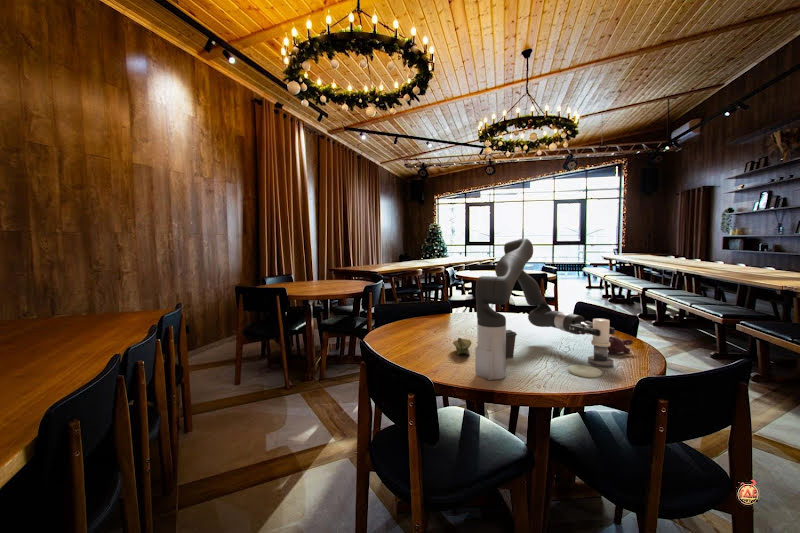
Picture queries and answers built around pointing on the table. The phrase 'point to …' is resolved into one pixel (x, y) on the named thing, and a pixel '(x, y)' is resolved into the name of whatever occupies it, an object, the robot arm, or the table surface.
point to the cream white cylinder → (601, 333)
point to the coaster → (584, 371)
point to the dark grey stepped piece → (600, 357)
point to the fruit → (462, 346)
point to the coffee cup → (510, 343)
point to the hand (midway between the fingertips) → (606, 332)
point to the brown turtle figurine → (618, 345)
